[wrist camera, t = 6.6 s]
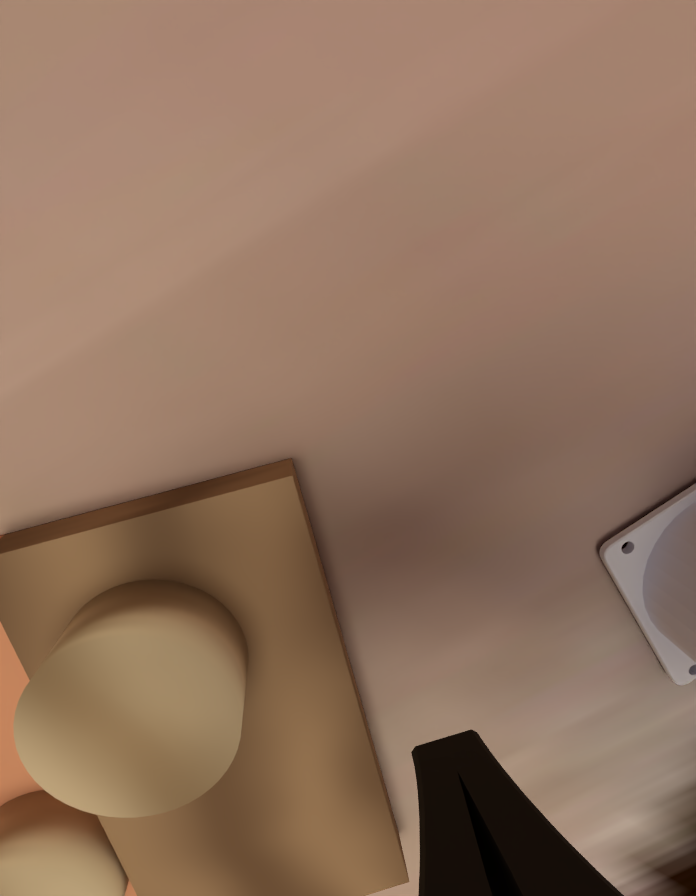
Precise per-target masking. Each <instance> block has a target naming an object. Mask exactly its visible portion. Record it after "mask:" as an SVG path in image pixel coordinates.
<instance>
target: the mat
mask: <svg viewBox="0 0 696 896" xmlns="http://www.w3.org/2000/svg"><path fill="white" fill-rule="evenodd" d="M3 536H4V535H2V536H0V538H1V537H3ZM29 681H30V680H29V678H28V676H27V674H26V672H25V670H24V668H23V666H22V664H21V662H20V660H19V658H18V656H17V654H16V652H15V650H14V648H13V646H12V644H11V642H10V640H9V638H8V636H7V634H6V632H5V630H4V628H3V626H2V624H1V622H0V806H2V805H3V804H5V803H6V802H8V801H10V800H12V799H14V798H16V797H18V796H21V795H24V794H27V793H30V792H34V791H38V790H44V789H43V788H42V787H41V786H40V785H39V784H38V783H36V782H35V780H34V779H33V778H32V777H31V775H30V774H29V773H28V772H27V770H26V768H25V767H24V765H23V763H22V762H21V760H20V757H19V754H18V752H17V749H16V745H15V740H14V729H13V723H14V716H15V710H16V707H17V704H18V701H19V699H20V696H21V694H22V692H23V690H24V688H25V687H26V686H27V684H28V683H29ZM125 896H137V894H136V892H135V890H134V888H133V886H132V884H131V882H130V880H129V882H128V886H127V889H126V893H125Z"/></svg>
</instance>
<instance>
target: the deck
mask: <svg viewBox="0 0 696 896" xmlns="http://www.w3.org/2000/svg"><path fill="white" fill-rule="evenodd" d="M152 579H155V580H169V581H175V582H180V583H183V584H187V585H190V586H193V587H195V588H198V589H200V590H202V591H204V592H206V593H208V594H209V595H211V596H213V597H214V598H215V599H217V600H218V601H219V602H221V603H222V604H223V605H224V606H225V607H226V608H227V609H228V610H229V611H230V612H231V613H232V615H233V616H234V617H235V619H236V620H237V622H238V623H239V625H240V627H241V629H242V631H243V634H244V636H245V639H246V643H247V648H248V669H247V679H246V689H245V699H244V708H243V718H242V728H241V738H240V742H239V746H238V750H237V752H236V755H235V757H234V759H233V761H232V763H231V765H230V766H229V768H228V770H227V771H226V772H225V774H224V775H223V776H222V777H221V779H220V780H219V781H218V782H217V783H216V784H215V785H214V786H213V787H212V788H211V789H209V790H208V791H207V792H205V793H204V794H203V795H201V796H200V797H198V798H197V799H195V800H193V801H191V802H190V803H188V804H186V805H183V806H181V807H179V808H177V809H174V810H171V811H168V812H165V813H161V814H156V815H152V816H145V817H136V818H118V817H107V816H101V815H97V816H98V818H99V820H100V822H101V824H102V826H103V828H104V830H105V832H106V834H107V836H108V838H109V840H110V842H111V844H112V846H113V848H114V850H115V852H116V854H117V856H118V858H119V860H120V862H121V864H122V866H123V868H124V870H125V872H126V874H127V876H128V878H129V880H130V882H131V884H132V886H133V888H134V890H135V892H136V894H137V896H365V895H369V894H372V893H375V892H378V891H381V890H385V889H388V888H391V887H394V886H397V885H400V884H404V883H407V882H409V878H408V873H407V869H406V864H405V860H404V855H403V851H402V846H401V841H400V837H399V833H398V829H397V826H396V822H395V819H394V815H393V812H392V808H391V805H390V801H389V798H388V794H387V791H386V787H385V784H384V780H383V777H382V773H381V770H380V766H379V763H378V759H377V756H376V752H375V749H374V745H373V742H372V738H371V735H370V731H369V728H368V724H367V721H366V717H365V714H364V710H363V707H362V703H361V700H360V696H359V693H358V689H357V686H356V682H355V679H354V675H353V672H352V668H351V665H350V661H349V658H348V654H347V651H346V647H345V644H344V640H343V636H342V633H341V629H340V626H339V622H338V619H337V615H336V612H335V608H334V605H333V601H332V598H331V594H330V591H329V587H328V584H327V580H326V577H325V573H324V570H323V566H322V563H321V559H320V556H319V552H318V549H317V545H316V542H315V538H314V535H313V531H312V528H311V524H310V521H309V517H308V514H307V510H306V507H305V503H304V500H303V496H302V493H301V489H300V486H299V482H298V479H297V475H296V472H295V468H294V465H293V461H292V458H291V459H287V460H283V461H279V462H276V463H272V464H268V465H264V466H261V467H257V468H253V469H249V470H246V471H242V472H238V473H234V474H231V475H227V476H223V477H219V478H216V479H212V480H208V481H204V482H201V483H197V484H193V485H189V486H185V487H182V488H178V489H174V490H170V491H167V492H163V493H159V494H155V495H152V496H148V497H144V498H140V499H137V500H133V501H129V502H125V503H122V504H118V505H114V506H110V507H107V508H103V509H99V510H95V511H92V512H88V513H84V514H80V515H77V516H73V517H69V518H65V519H62V520H58V521H54V522H50V523H47V524H43V525H39V526H35V527H32V528H28V529H24V530H20V531H17V532H13V533H9V534H5V535H4V536H3V537H1V538H0V622H1V624H2V626H3V628H4V630H5V632H6V634H7V636H8V638H9V640H10V642H11V644H12V646H13V648H14V650H15V652H16V654H17V656H18V658H19V660H20V662H21V664H22V666H23V668H24V670H25V672H26V674H27V676H28V678H29V680H31V678H32V677H33V675H34V674H35V673H36V671H37V670H38V668H39V667H40V665H41V664H42V662H43V661H44V660H45V658H46V657H47V655H48V654H49V652H50V651H51V649H52V648H53V647H54V645H55V644H56V642H57V641H58V639H59V638H60V636H61V635H62V634H63V632H64V631H65V629H66V628H67V626H68V625H69V623H70V622H71V621H72V619H73V618H74V616H75V615H76V614H77V612H78V611H79V610H80V609H81V608H82V607H83V606H84V605H85V604H86V603H88V602H89V601H90V600H91V599H93V598H94V597H96V596H97V595H99V594H101V593H102V592H104V591H106V590H108V589H111V588H113V587H115V586H118V585H121V584H125V583H128V582H133V581H139V580H152Z"/></svg>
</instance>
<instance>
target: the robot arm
mask: <svg viewBox="0 0 696 896" xmlns="http://www.w3.org/2000/svg"><path fill="white" fill-rule="evenodd" d="M625 542H628V544H627V546H626V547H625V548H624V549H621V548H622V545H623V544H624V543H625ZM599 554H600V558H601V560H602V561H603V563H604V565H605V567H606V568H607V570H608V572H609V574H610V575H611V577H612V579H613V581H614V582H615V584H616V586H617V588H618V589H619V591H620V593H621V595H622V596H623V598H624V600H625V602H626V604H627V605H628V607H629V609H630V611H631V612H632V614H633V616H634V618H635V619H636V621H637V623H638V625H639V626H640V628H641V630H642V632H643V633H644V635H645V637H646V639H647V640H648V642H649V644H650V646H651V647H652V649H653V651H654V653H655V654H656V656H657V658H658V660H659V661H660V663H661V665H662V667H663V668H664V670H665V672H666V674H667V675H668V677H669V678H670V679H671V680H672V681H673V682H674V683H675V684H677V685H686V684H688V683H690V682H691V681H693V680H694V679H696V483H695V484H694V485H692V486H691V487H689V488H688V489H686V490H684V491H683V492H681V493H680V494H678V495H677V496H675V497H674V498H672V499H671V500H669V501H668V502H666V503H664V504H663V505H661V506H660V507H658V508H657V509H655V510H654V511H652V512H651V513H649V514H648V515H646V516H644V517H643V518H641V519H640V520H638V521H637V522H635V523H634V524H632V525H631V526H629V527H628V528H626V529H624V530H623V531H621V532H620V533H618V534H617V535H615V536H614V537H612V538H611V539H609V540H608V541H606V542H605V543H604V544H603V545H602V546H601V548H600V552H599ZM411 753H412V757H413V761H414V766H415V772H416V779H417V788H418V801H419V818H420V876H419V896H624V895H623V894H621V893H620V892H619V891H618V890H617V889H616V888H615V887H614V886H613V885H612V884H611V883H610V882H609V881H607V880H606V879H605V878H604V877H603V876H602V875H601V874H600V873H599V872H598V871H597V870H596V869H595V868H594V867H593V866H592V865H591V864H590V863H589V862H588V861H587V860H586V859H585V858H584V857H583V856H582V855H581V854H580V853H579V852H578V851H577V850H576V849H575V848H574V847H573V846H572V845H571V844H570V843H569V842H568V841H567V840H566V839H565V838H564V837H563V836H562V835H561V834H560V833H559V832H558V831H557V830H556V828H555V827H554V826H553V825H552V824H551V823H550V822H549V821H548V820H547V819H546V818H545V816H544V815H543V814H542V813H541V812H540V811H539V810H538V809H537V808H536V807H535V805H534V804H533V803H532V802H531V801H530V800H529V799H528V798H527V796H526V795H525V794H524V793H523V792H522V791H521V790H520V788H519V787H518V786H517V785H516V784H515V782H514V781H513V780H512V779H511V777H510V776H509V775H508V774H507V773H506V771H505V770H504V769H503V768H502V766H501V765H500V764H499V762H498V761H497V760H496V759H495V757H494V756H493V755H492V753H491V752H490V751H489V749H488V748H487V746H486V745H485V743H484V742H483V741H482V739H481V738H480V736H479V734H478V733H477V732H475V731H473V730H468V731H465V732H462V733H458V734H455V735H452V736H448V737H445V738H442V739H438V740H435V741H432V742H429V743H425V744H422V745H419V746H415V748H414V749H413V751H412V752H411Z"/></svg>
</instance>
